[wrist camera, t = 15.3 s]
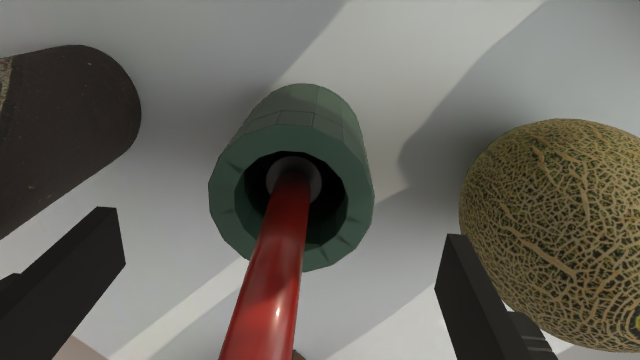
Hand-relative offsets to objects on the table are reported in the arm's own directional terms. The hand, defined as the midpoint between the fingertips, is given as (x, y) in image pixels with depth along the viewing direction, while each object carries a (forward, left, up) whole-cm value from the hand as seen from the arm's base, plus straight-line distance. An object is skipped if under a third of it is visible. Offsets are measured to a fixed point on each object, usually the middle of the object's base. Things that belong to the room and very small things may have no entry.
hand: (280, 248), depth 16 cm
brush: (0, 0, -14) cm, 14 cm away
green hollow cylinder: (0, 0, -14) cm, 14 cm away
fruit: (+12, +10, -14) cm, 21 cm away
